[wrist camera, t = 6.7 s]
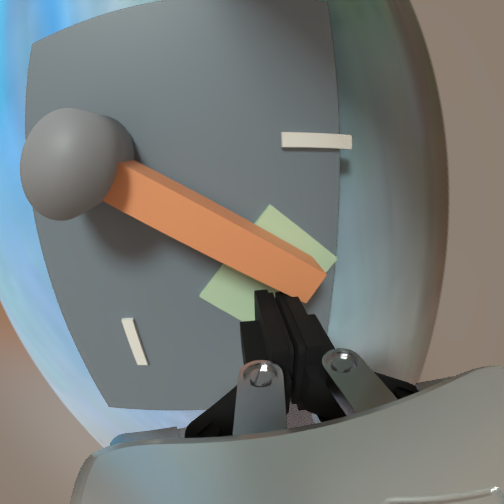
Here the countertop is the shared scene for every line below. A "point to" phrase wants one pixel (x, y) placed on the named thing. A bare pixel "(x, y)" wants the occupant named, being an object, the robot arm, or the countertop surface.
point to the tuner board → (191, 181)
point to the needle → (149, 199)
